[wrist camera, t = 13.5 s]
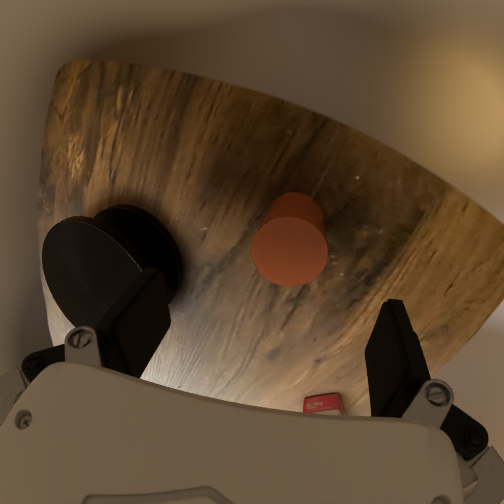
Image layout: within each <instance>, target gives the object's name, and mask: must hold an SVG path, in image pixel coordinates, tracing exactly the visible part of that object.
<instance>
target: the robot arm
mask: <svg viewBox="0 0 504 504" xmlns="http://www.w3.org/2000/svg"><path fill="white" fill-rule="evenodd" d="M170 324H171V318H170V312H169V306H168V300H167V294H166V287H165V281H164V275H163V273H161V272H160V270H159V269H154V268H145V269H144V270H143V271H142V273H141V274H140V275H139V276H138V277H137V278H136V279H135V280H134V281H133V282H132V284H131V285H130V286H129V287H128V288H127V289H126V290H125V291H124V292H123V294H122V295H121V296H120V297H119V298H118V299H117V300H116V302H115V303H114V304H113V305H112V306H111V307H110V308H109V310H108V311H107V312H106V313H105V314H104V315H103V317H102V318H101V319H100V320H99V321H98V323H97V324H96V325H97V326H96V327H95V328H94V329H93V328H91V327H89V326H79V327H77V328H74V329H73V330H71V331H70V332H69V333H68V334H67V336H66V337H65V344H62V345H59V346H55V347H52V348H48V349H45V350H41V351H38V352H34V353H31V354H30V355H28V356H27V357H26V358H25V359H24V360H23V363H22V367H21V368H20V369H19V368H18V367H16V368H14V369H12V370H11V371H9V372H7V373H6V374H3V375H2V376H0V504H500V503H501V502H502V500H503V499H504V461H503V460H502V458H501V457H500V456H499V454H498V453H497V451H496V450H495V449H494V447H493V446H491V447H490V448H489V446H488V445H487V444H488V433H487V431H486V429H485V428H484V427H483V426H482V425H481V424H480V423H478V422H477V421H476V420H474V419H473V418H472V417H470V416H469V415H467V414H466V413H465V412H463V411H462V410H460V409H459V408H458V407H456V406H455V405H453V404H452V403H453V400H454V394H453V391H452V389H451V388H450V386H449V385H448V384H447V383H445V382H444V381H442V380H439V379H431V378H430V374H429V371H428V367H427V364H426V361H425V358H424V354H423V351H422V348H421V345H420V342H419V339H418V336H417V334H416V333H415V332H414V331H413V328H412V326H411V323H410V320H409V317H408V314H407V312H406V309H405V306H404V304H403V301H402V300H397V299H388V301H387V302H384V303H383V304H382V307H381V310H380V313H379V315H378V318H377V321H376V323H375V326H374V328H373V331H372V334H371V336H370V339H369V341H368V343H367V346H366V349H365V360H366V368H367V376H368V385H369V395H370V405H371V417H366V416H343V415H327V414H314V413H303V412H294V411H285V410H278V409H270V408H264V407H257V406H251V405H245V404H240V403H234V402H229V401H224V400H219V399H214V398H210V397H205V396H201V395H197V394H193V393H189V392H185V391H181V390H177V389H173V388H170V387H166V386H163V385H159V384H156V383H152V382H149V381H146V380H142V379H140V377H141V375H142V373H143V372H144V370H145V368H146V367H147V365H148V363H149V361H150V360H151V358H152V356H153V354H154V353H155V351H156V349H157V348H158V346H159V344H160V343H161V341H162V339H163V337H164V336H165V334H166V332H167V331H168V329H169V327H170Z"/></svg>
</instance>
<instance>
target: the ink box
mask: <svg viewBox="0 0 504 504" xmlns="http://www.w3.org/2000/svg"><path fill="white" fill-rule="evenodd" d="M303 413H314V414H327V415H343V416H346V415H345V412H344V409H343V405H342V402H341V398H340V395H339V394H338V393H336V394H329V395H321V396H315V397H310V398H306V399H304V406H303Z"/></svg>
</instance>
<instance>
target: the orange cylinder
mask: <svg viewBox="0 0 504 504" xmlns="http://www.w3.org/2000/svg"><path fill="white" fill-rule="evenodd" d="M251 251H252V258H253V262H254V264H255V266H256V268H257V269H258V271H259V272H260V273H261V274H262V275H263V276H264V277H265V278H267V279H268V280H270V281H271V282H273V283H276V284H278V285H282V286H289V287H292V286H301V285H304V284H307V283H309V282H311V281H313V280H314V279H315V278H317V277H318V276H319V275H320V274H321V272H322V271H323V269H324V268H325V266H326V263H327V259H328V244H327V234H326V225H325V217H324V213H323V210H322V208H321V206H320V205H319V204H318V203H317V201H315V200H314V199H313V198H312V197H310V196H308V195H306V194H303V193H297V192H292V193H286V194H283V195H281V196H279V197H278V198H276V199H275V200H274V201H273V202H272V203H271V204H270V206H269V208H268V210H267V212H266V214H265V216H264V218H263V220H262V222H261V224H260V226H259V228H258V231H257V233H256V235H255V237H254V239H253V242H252V248H251Z"/></svg>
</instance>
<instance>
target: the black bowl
mask: <svg viewBox="0 0 504 504" xmlns="http://www.w3.org/2000/svg"><path fill="white" fill-rule="evenodd" d="M42 264H43V270H44V275H45V279H46V282H47V284H48V287H49V290H50V292H51V294H52V296H53V298H54V300H55V301H56V303H57V305H58V306H59V308H60V309H61V311H62V312H63V314H64V315H65V316H66V317H67V319H68V320H69V321H70V322H71V323H72V324H73V325H74V326H75V327H76V328H77V327H79V326H89V327H91V328H93V329H94V328H95V327H96V326H97V325H96V324H97V323H98V321H99V320H100V319H101V318H102V317H103V315H104V314H105V313H106V312H107V311H108V310H109V308H110V307H111V306H112V305H113V304H114V303H115V302H116V300H117V299H118V298H119V297H120V296H121V295H122V294H123V292H124V291H125V290H126V289H127V288H128V287H129V286H130V285H131V284H132V282H133V281H134V280H135V279H136V278H137V277H138V276H139V275H140V274H141V273H142V271H143V270H144V269H145V268H154V269H159V270H160V272H161V273H163V275H164V281H165V287H166V294H167V300H168V304H170V303H171V302H172V300H173V299H174V298H175V296H176V295H177V293H178V292H179V290H180V288H181V285H182V281H183V263H182V258H181V255H180V252H179V249H178V247H177V245H176V243H175V241H174V239H173V237H172V236H171V234H170V233H169V231H168V230H167V229H166V228H165V227H164V225H163V224H162V223H161V222H160V221H159V220H158V219H156V218H155V217H154V216H152V215H151V214H150V213H148V212H146V211H145V210H143V209H140V208H138V207H135V206H132V205H125V204H118V205H113V206H110V207H108V208H106V209H104V210H102V211H101V212H99V213H97V214H96V215H95V216H94V217H93V218H90V217H85V216H74V217H69V218H67V219H65V220H63V221H61V222H59V223H57V224H56V225H55V226H53V227H52V228H51V230H50V231H49V232H48V234H47V236H46V238H45V240H44V244H43V249H42Z"/></svg>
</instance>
